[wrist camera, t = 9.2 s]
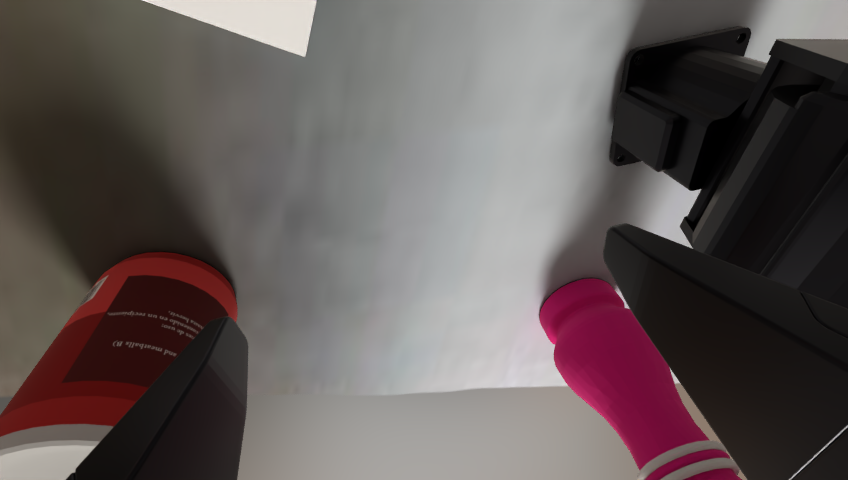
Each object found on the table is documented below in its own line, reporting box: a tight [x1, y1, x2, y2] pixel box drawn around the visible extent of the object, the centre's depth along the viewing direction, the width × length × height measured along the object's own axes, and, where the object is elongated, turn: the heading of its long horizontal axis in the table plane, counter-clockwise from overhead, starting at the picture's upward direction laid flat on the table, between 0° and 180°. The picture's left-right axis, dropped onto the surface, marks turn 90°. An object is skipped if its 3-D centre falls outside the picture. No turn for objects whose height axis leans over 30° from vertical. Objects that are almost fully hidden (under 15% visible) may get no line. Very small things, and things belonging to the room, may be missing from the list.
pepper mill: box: [540, 278, 742, 480], centre depth 24 cm, size 7×7×20 cm
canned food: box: [0, 252, 237, 480], centre depth 20 cm, size 8×8×11 cm
